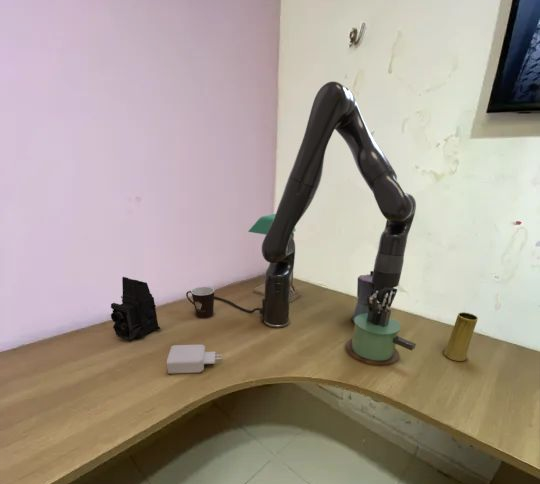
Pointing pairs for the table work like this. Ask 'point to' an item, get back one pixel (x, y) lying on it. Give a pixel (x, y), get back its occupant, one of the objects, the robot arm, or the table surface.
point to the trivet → (368, 361)
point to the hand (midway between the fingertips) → (377, 321)
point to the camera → (134, 311)
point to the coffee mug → (203, 301)
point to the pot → (377, 336)
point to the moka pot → (363, 293)
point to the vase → (461, 336)
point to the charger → (189, 359)
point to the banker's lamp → (262, 228)
